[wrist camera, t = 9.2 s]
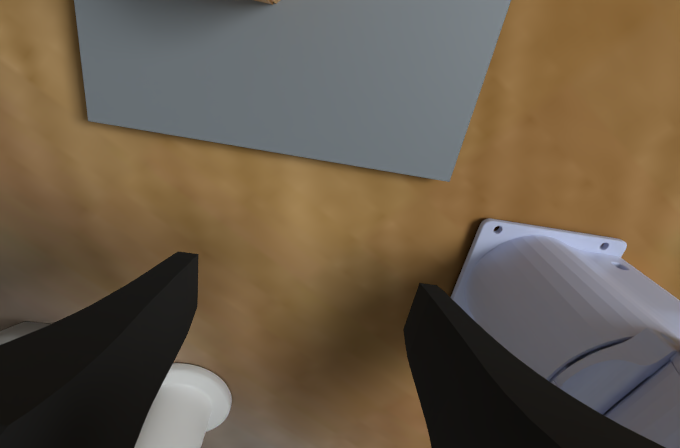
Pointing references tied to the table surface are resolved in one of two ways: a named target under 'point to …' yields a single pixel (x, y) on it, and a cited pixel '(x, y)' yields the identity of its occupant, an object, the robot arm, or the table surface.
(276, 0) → the cap
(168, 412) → the candle
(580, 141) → the table surface
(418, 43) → the board
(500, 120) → the table surface
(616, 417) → the robot arm
